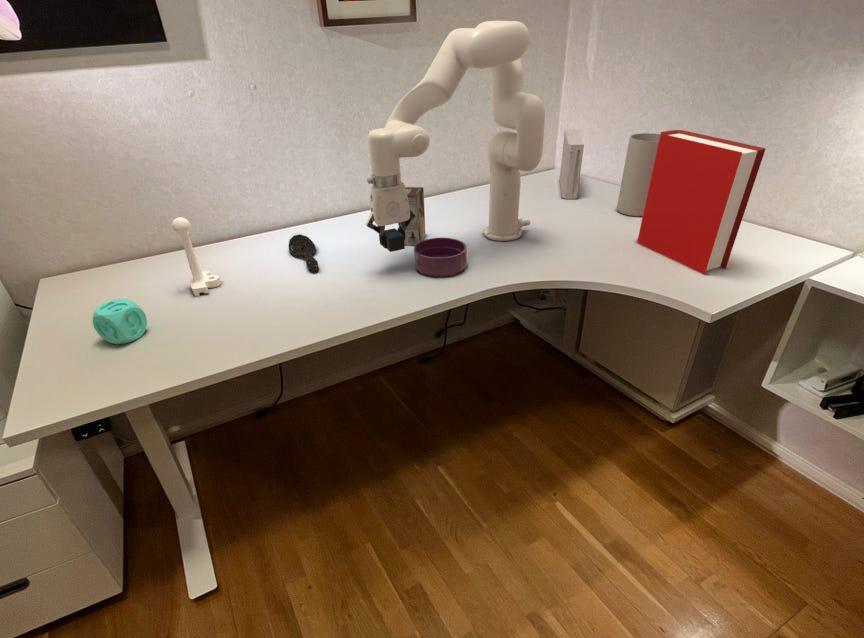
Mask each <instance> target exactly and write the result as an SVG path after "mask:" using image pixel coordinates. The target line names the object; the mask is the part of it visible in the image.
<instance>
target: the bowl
mask: <svg viewBox="0 0 864 638" xmlns="http://www.w3.org/2000/svg"><path fill="white" fill-rule="evenodd" d="M413 256H414V259H413V260H414V267H415V269H416V270H417V271H418V272H419V273H421V274H422V275H424V276H428V277H432V278H446V277H452V276H456V275H458V274H460V273H461V272H463V271H464V269H465V268H467V265H468V246H467V243H465V242H464V241H462V240H460V239H457V238H452V237H432V238H427V239H423V240H422V241H421V242H419V243H417V244H416V245H414V247H413Z"/></svg>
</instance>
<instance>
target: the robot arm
mask: <svg viewBox="0 0 864 638" xmlns="http://www.w3.org/2000/svg"><path fill="white" fill-rule="evenodd" d="M530 41H531V35H530V31H529V29H528V27H527V26H526V25H525V24H524V23H523V22H522V21H518V20H487V21H482V22H480V23H479V24H477V26H476V27H459V28H455V29H453V30H452V31H450V32H449V33H448V35H447V36H446V38H445V39H444V41H443V43H442V45H441V46H440V48H439V50H438V51H437V53H436V55H435V57H434V59H432V60H433V61H432V62H431V64H430V65H429V67H428V69H427V71H426V73H425V75H424V76H423V77H422V79H421V80H420V81H419V82H418V83H417V84H416V85H415V86H414V87H412V89H410V91H408V92H407V93H406V94H405V95H404V96H403V97H402V98H401V99H400V100H399V101H398V102H397V104H396V105H395V106H394V108H393V109H392V112H391V113H390V115H389V117H388V119H387V121H386V123H385V125H384V127H380V128H375V129H372V130H370V131H369V133H368V135H367V143H368V153H369V161H370V170H371V174H370V177H369V178H366V181H367V185H371V186H370V193H369V194H370V197H369V199H370V201H369V202H370V205H369V207H370V214H369V216H368V218H367V220H366V222H365V226H366V227H367V228H369V229H371V230H373V231H374V232H375V233H378V239H379V245H380V246H382V248H384V249H386V250H387V239H386V235H385V232H384V231H385V230H386V227H387V226H389V225H395V224H397V225H398V227H397V228H396V230H397V231H399V232H400V233H402V234H403V236H404V240H405V230H406V227H407V226H408V225H409V223H410V221H412V220H413V219H414V217H415V215H414V213H413V212H412V211H411V210H410V209H409V202H408V197H407V192H406V188H405V187H406V186H405V185H406V184H405V183H404V182H402V176H401V163H400V162H401V161H400V159H401V158H415V157H416V158H417V157H420V156H422V155H424V154H425V152H427V150H428V148H429V146H430V136H429V134H428V131H426V129H424V128H423V127H422V126H419V125H416V123H417V121H418V120H419V119H420V118H421V117H422V116H423V115H424V114H426V113H428V112H429V111H431V110H433V109H436V108H439V107H440V106H443V105H445V104H446V103H448V102H449V101H450V100H452V98H453V96H454V94H455V93H456V90H457V88H458V87H459V85H460V84H461V81H462V80H463V78H464V77H465V75H466V73H467V71H468V70H469V69H480V70H483V69H489V68H490V71H491V74H492V75H491V76H492V117H493V121H494V123H495V124H496V125H497V126H499V127H501V128H505V129H511V130H514V131H516V132H512V131H507V130H503V131H498V132H496V133H495V134H494V135H492V137H491V138H490V140H489V142H488V145H487V158H488V165H489V199H488V201H489V202H488V226H487V227H485V228H484V229H483V236H484V237H485V238H486V239H489V240H491V241H496V242H509V241H514V240H517V239H519V238H520V237H522V234H523V230H522V228H523V227H526V226H530V225H531V219H529V218H527V219H524V220H523V218H519V210H520V209H519V208H520V195H521V182H522V181H521V173H520V171H521V172H532V171H533V170H535V169H536V168H537V167H538V166H539V164H540V162H541V160H542V156H543V151H544V150H543V149H544V139H545V138H544V135H545V120H546V112H545V106H544V103H543V101H542V99H541V98H540V97H539V96H538V95H536V94H533V93H528V92H527V93H526V92H525V89H524V67H523V62H522V60H521V58H523V57H524V55H526V53H527V51H528V49H529V46H530V43H531V42H530ZM374 223H375V224H374ZM404 244H405V243H404Z"/></svg>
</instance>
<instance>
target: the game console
mask: <svg viewBox="0 0 864 638" xmlns="http://www.w3.org/2000/svg"><path fill="white" fill-rule="evenodd" d="M584 148H585V144H584V141H583V138H582V135H581V131H580V129H564V132H563V143H562V151H561V152H562V153H561V162H560V171H559V176H558V177H559V185H560V193H561V198H562V199H566V200H569V199H570V200H577V199H578V194H579V186H580V179H581V170H582V163H583V157H584Z"/></svg>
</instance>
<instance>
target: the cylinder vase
mask: <svg viewBox="0 0 864 638" xmlns="http://www.w3.org/2000/svg"><path fill="white" fill-rule="evenodd" d="M660 134H661V133H653V132H640V133H633V134H630V135H629V139H628V143H627V149H626V155H625V160H624V166H623V172H622V177H621V181H620V182H621V183H620V189H619V193H618V199H617V204H616V210H617V211H618V213H620V214H622V215H626V216H629V217H643V212H644V208H645V203H646V199H647V194H648V189H649V185H650V180H651V175H652V171H653V166H654V162H655V157H656V152H657V148H658V143H659V138H660Z"/></svg>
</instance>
